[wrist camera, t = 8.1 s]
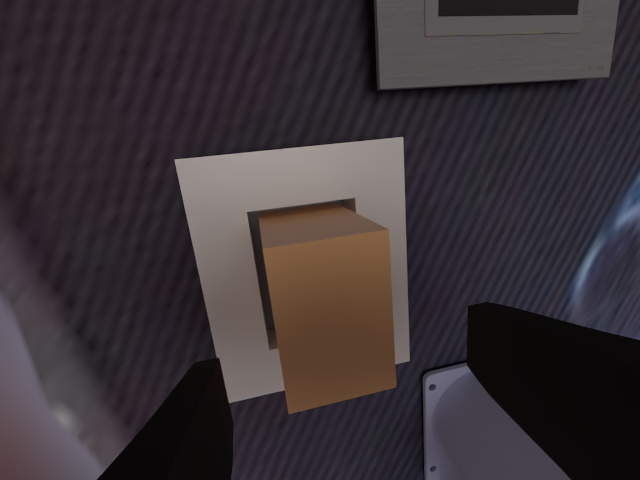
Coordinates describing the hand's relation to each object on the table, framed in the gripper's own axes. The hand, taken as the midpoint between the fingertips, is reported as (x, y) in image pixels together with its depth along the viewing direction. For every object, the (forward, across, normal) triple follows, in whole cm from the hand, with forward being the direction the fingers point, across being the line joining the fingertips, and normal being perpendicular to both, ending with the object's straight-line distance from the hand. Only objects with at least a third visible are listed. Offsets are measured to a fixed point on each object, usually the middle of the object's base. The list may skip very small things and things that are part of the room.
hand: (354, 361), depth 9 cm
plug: (+9, 0, 0) cm, 9 cm away
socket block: (+9, 0, 0) cm, 9 cm away
